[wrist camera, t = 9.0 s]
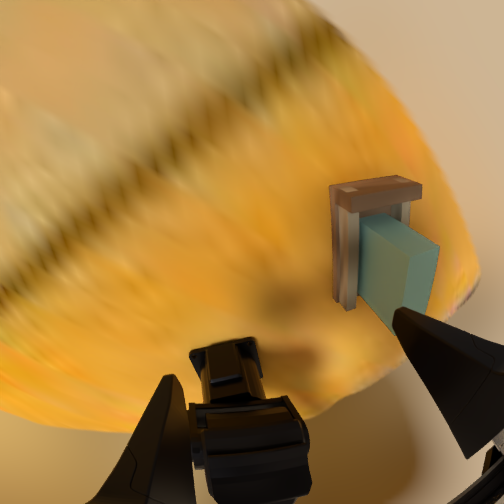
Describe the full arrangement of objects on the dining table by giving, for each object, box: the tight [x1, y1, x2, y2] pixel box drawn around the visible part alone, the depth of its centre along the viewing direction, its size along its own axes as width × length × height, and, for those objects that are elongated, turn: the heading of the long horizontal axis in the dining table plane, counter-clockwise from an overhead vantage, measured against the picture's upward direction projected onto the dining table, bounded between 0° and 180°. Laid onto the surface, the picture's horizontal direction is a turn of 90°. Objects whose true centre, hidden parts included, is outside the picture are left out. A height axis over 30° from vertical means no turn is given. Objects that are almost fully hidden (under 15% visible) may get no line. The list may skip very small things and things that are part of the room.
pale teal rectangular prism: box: [357, 213, 440, 336], centre depth 20 cm, size 7×3×7 cm, turn 10°
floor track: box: [329, 175, 422, 311], centre depth 22 cm, size 11×7×3 cm, turn 10°
